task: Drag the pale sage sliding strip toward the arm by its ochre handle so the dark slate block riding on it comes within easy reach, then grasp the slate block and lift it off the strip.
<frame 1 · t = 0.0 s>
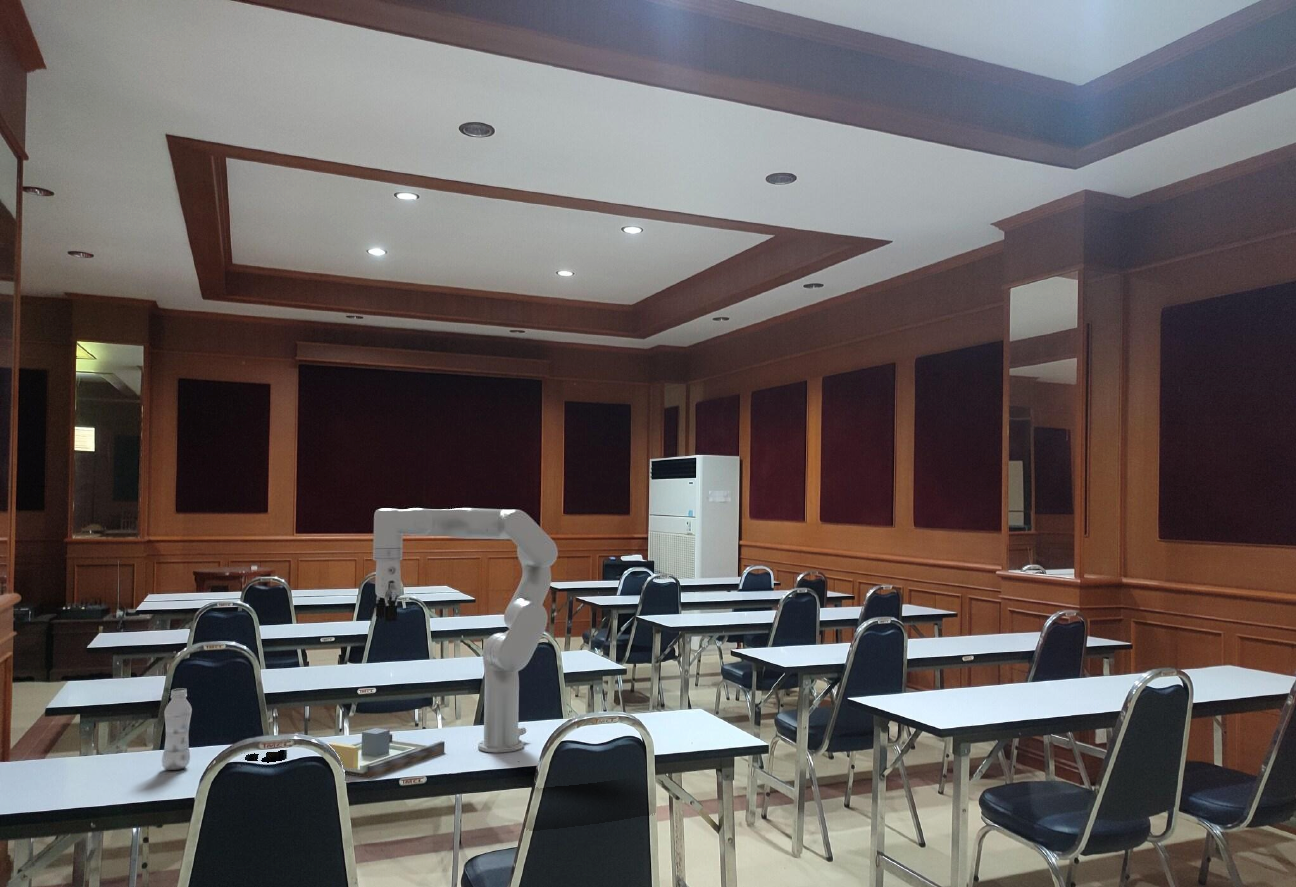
hand: (386, 619, 243), 37 cm above the table, tool pointing down, fingers open, 9 cm apart
slate block: (375, 753, 241), point 2 cm above the table, touching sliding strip
end cap: (265, 771, 233), on the table
guide base: (380, 759, 243), on the table
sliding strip: (367, 748, 239), point 4 cm above the table, slide at 0.0 cm, touching slate block
plastic bottle: (175, 769, 233), on the table
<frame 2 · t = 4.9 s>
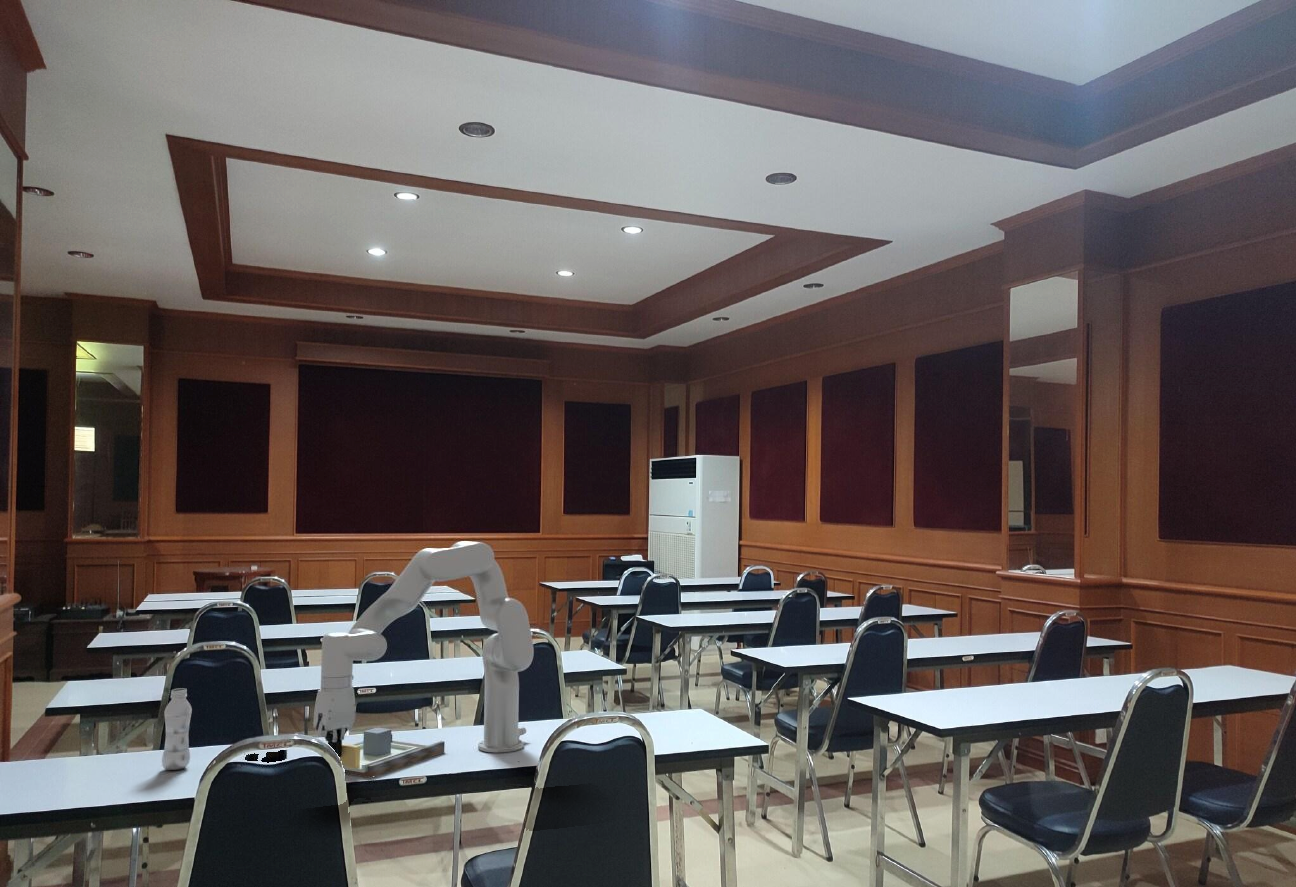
hand: (334, 756, 228), 4 cm above the table, tool pointing down, fingers closed
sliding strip: (369, 747, 239), point 4 cm above the table, slide at 0.6 cm, touching gripper, slate block
everything else where it was.
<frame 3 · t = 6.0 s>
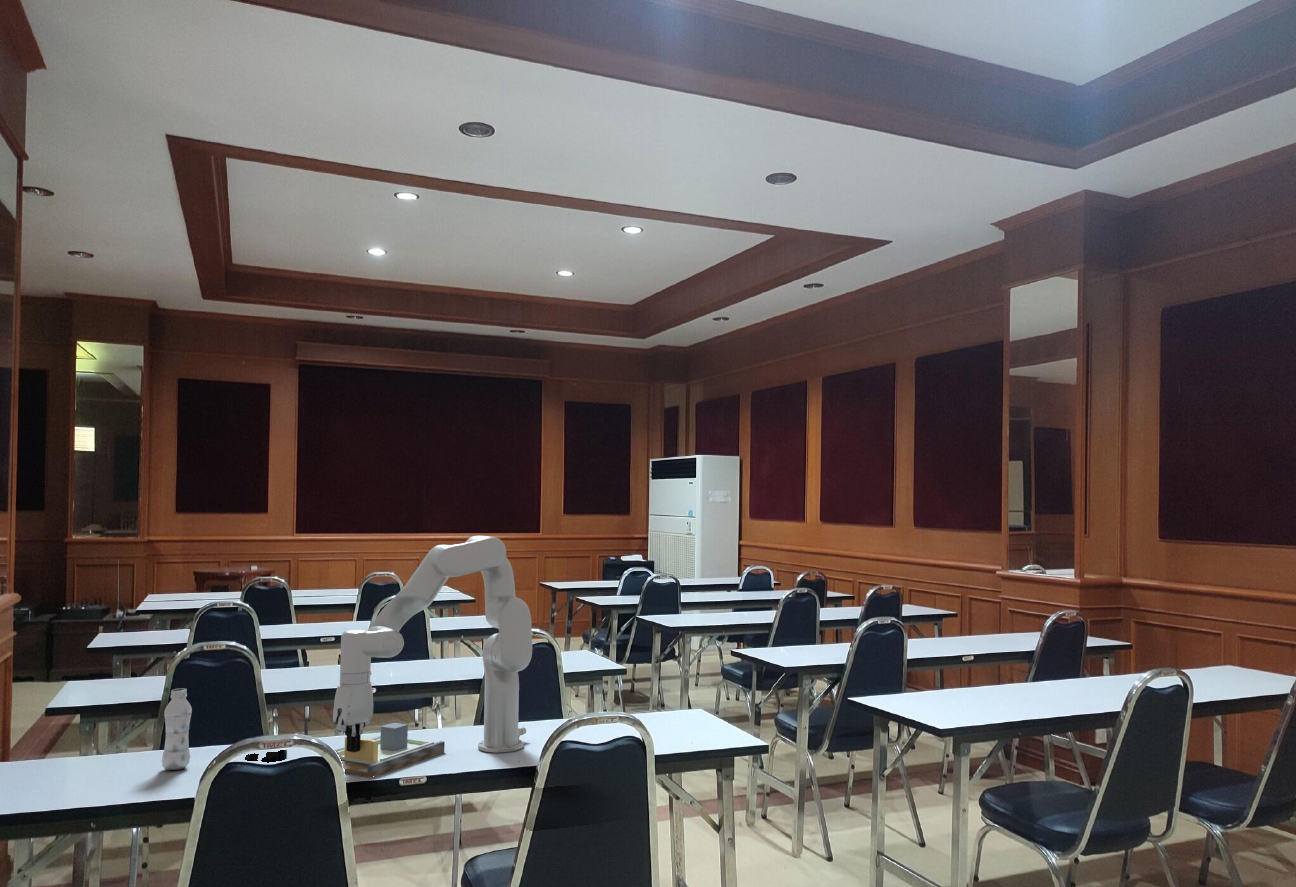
hand: (353, 750, 234), 5 cm above the table, tool pointing down, fingers closed
slate block: (393, 748, 247), point 2 cm above the table, touching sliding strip
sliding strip: (386, 742, 245), point 4 cm above the table, slide at 7.0 cm, touching gripper, slate block
everything else where it was.
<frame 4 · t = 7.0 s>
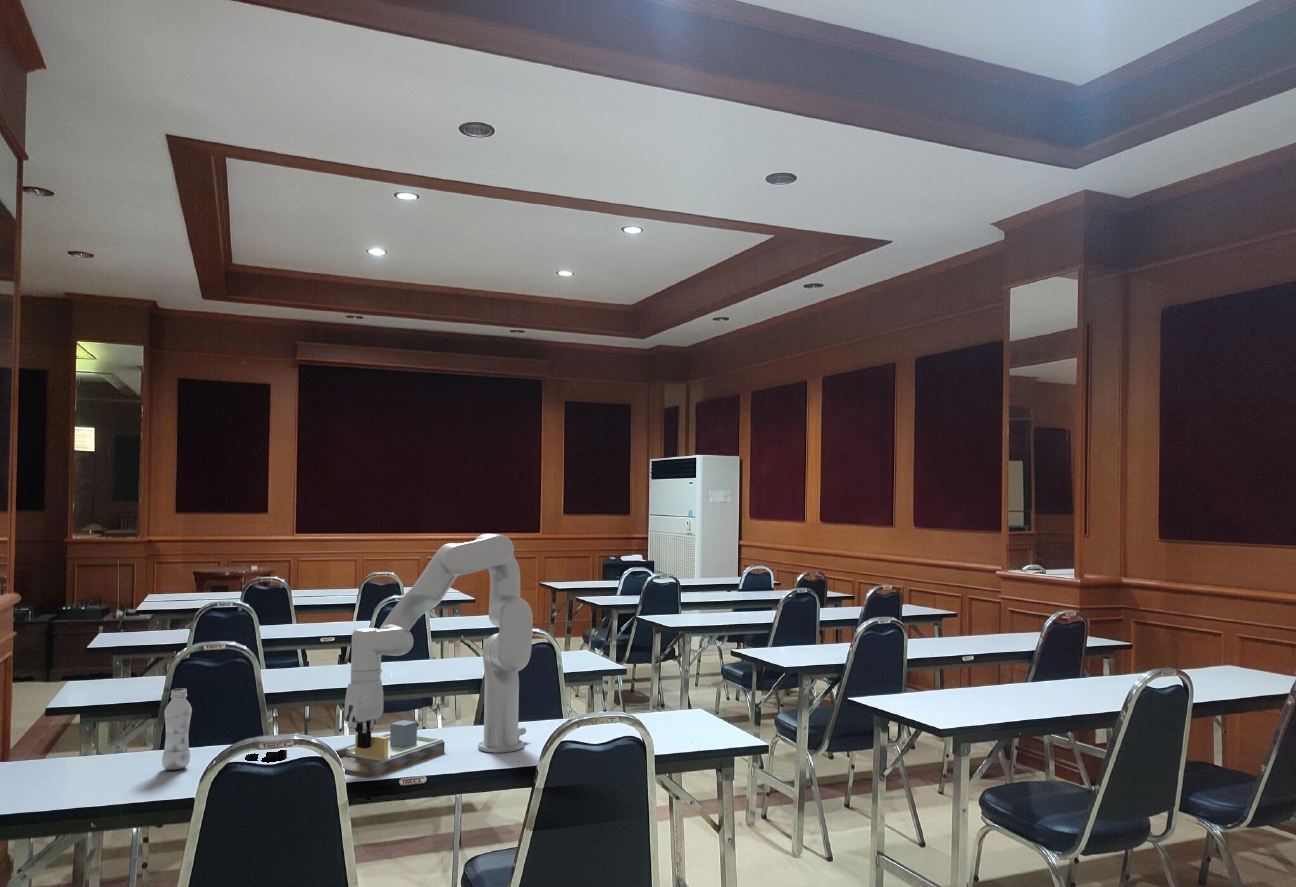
hand: (363, 747, 237), 5 cm above the table, tool pointing down, fingers closed
slate block: (403, 744, 251), point 2 cm above the table, touching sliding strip
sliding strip: (396, 739, 248), point 4 cm above the table, slide at 10.8 cm, touching gripper, slate block
everything else where it was.
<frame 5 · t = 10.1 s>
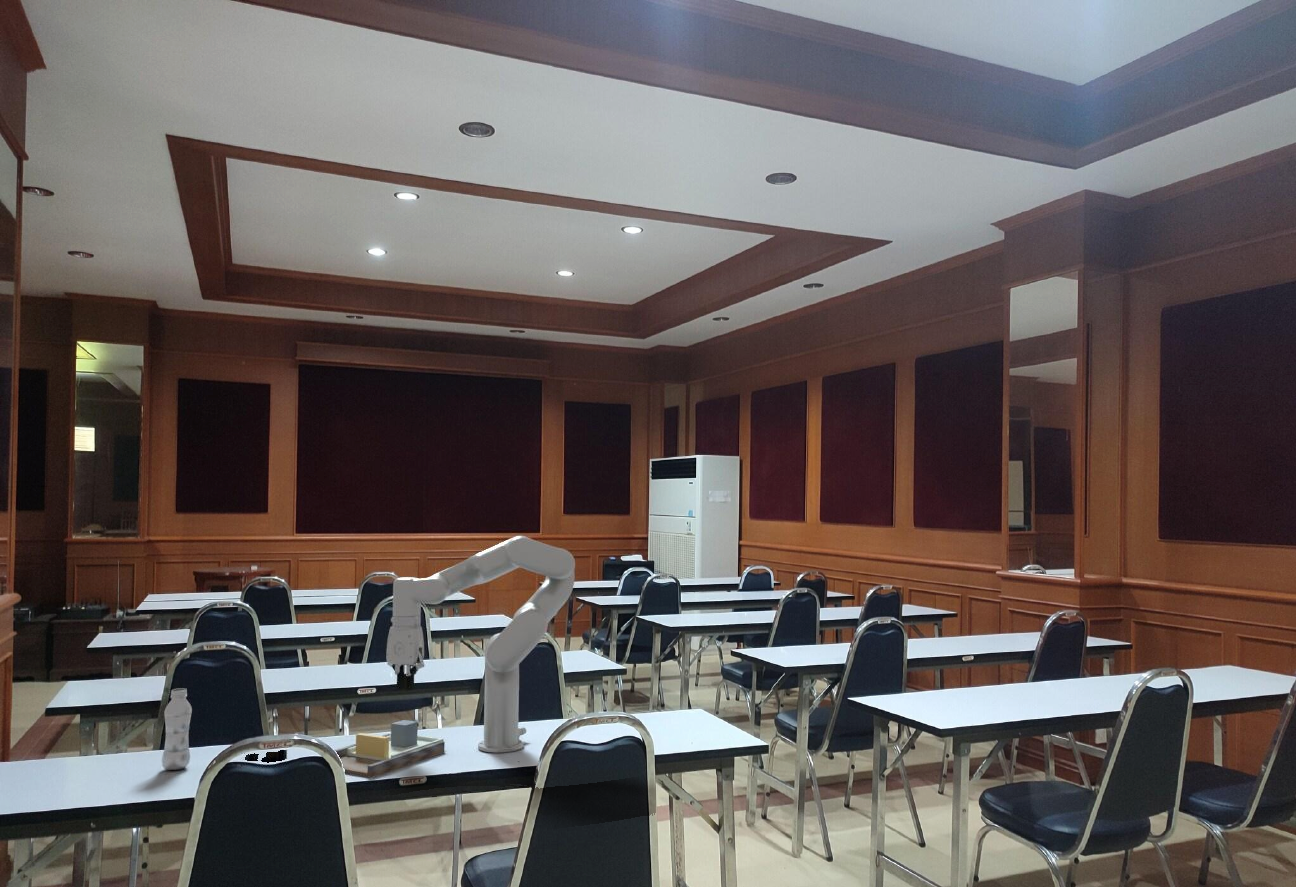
hand: (405, 688, 252), 17 cm above the table, tool pointing down, fingers closed
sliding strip: (396, 739, 248), point 4 cm above the table, slide at 11.0 cm, touching slate block
everything else where it was.
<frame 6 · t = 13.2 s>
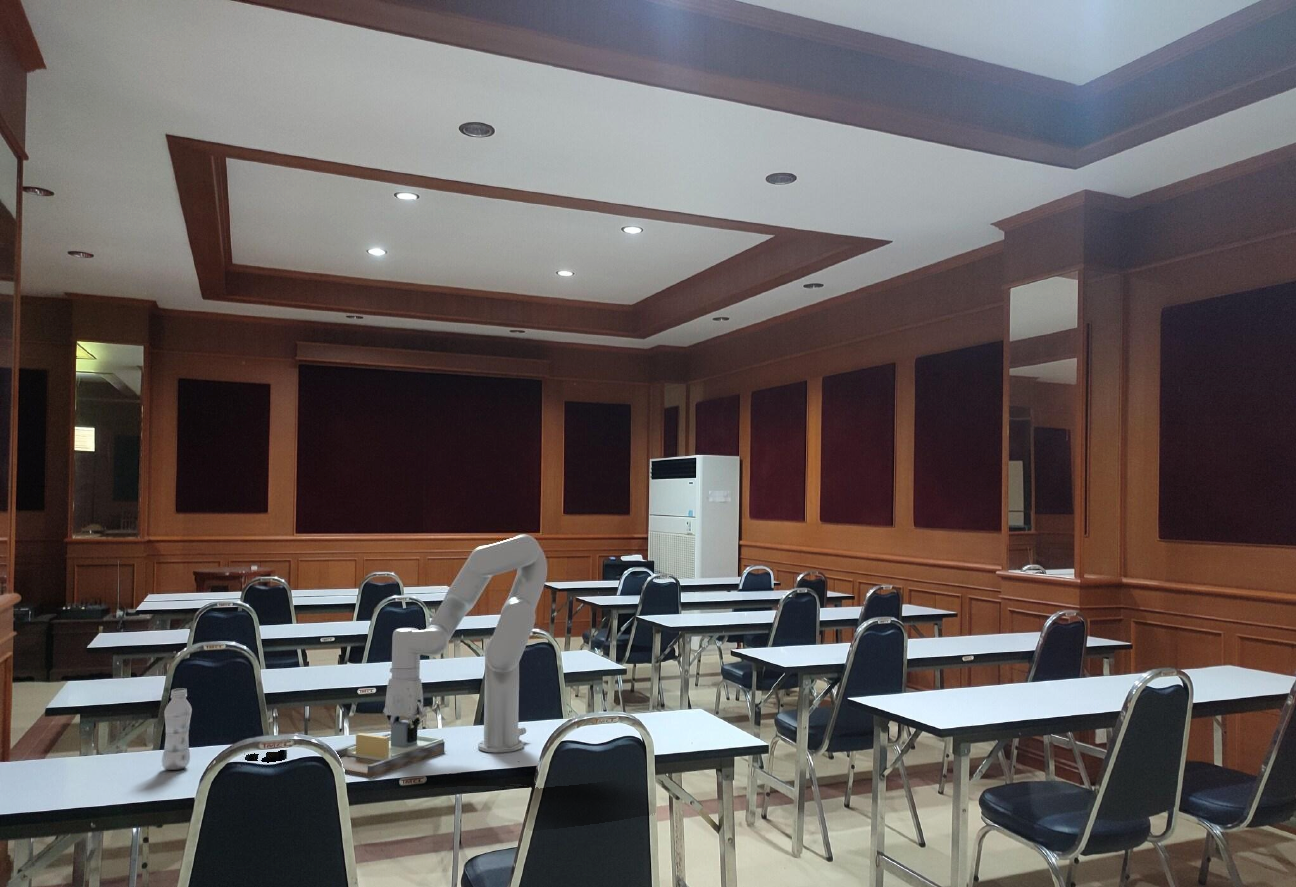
hand: (404, 739, 251), 3 cm above the table, tool pointing down, fingers closed on slate block, 5 cm apart
slate block: (403, 744, 251), point 2 cm above the table, touching gripper, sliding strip
everything else where it was.
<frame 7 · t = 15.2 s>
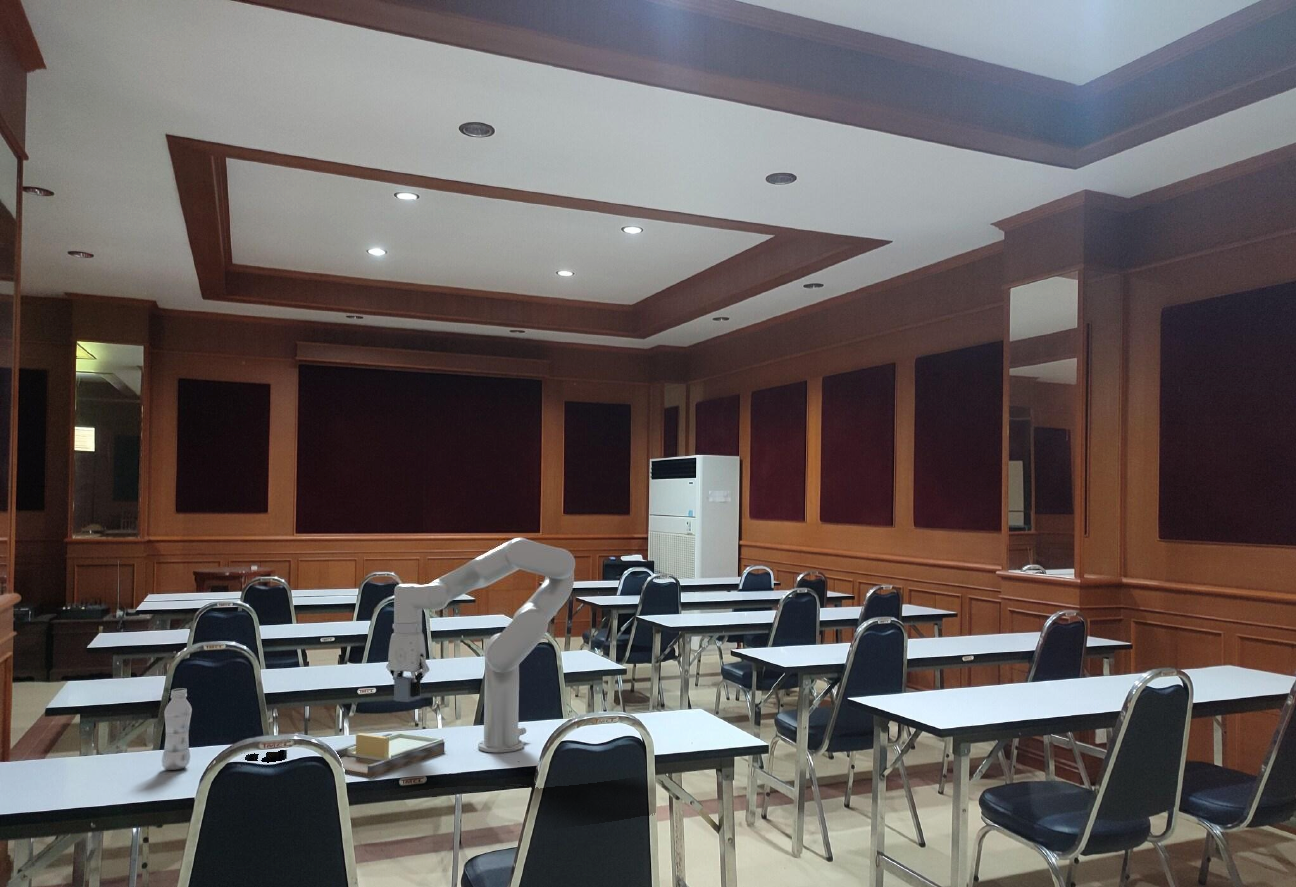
hand: (407, 694, 252), 16 cm above the table, tool pointing down, fingers closed on slate block, 5 cm apart
slate block: (407, 699, 251), point 14 cm above the table, touching gripper
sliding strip: (396, 739, 248), point 4 cm above the table, slide at 11.0 cm
everything else where it was.
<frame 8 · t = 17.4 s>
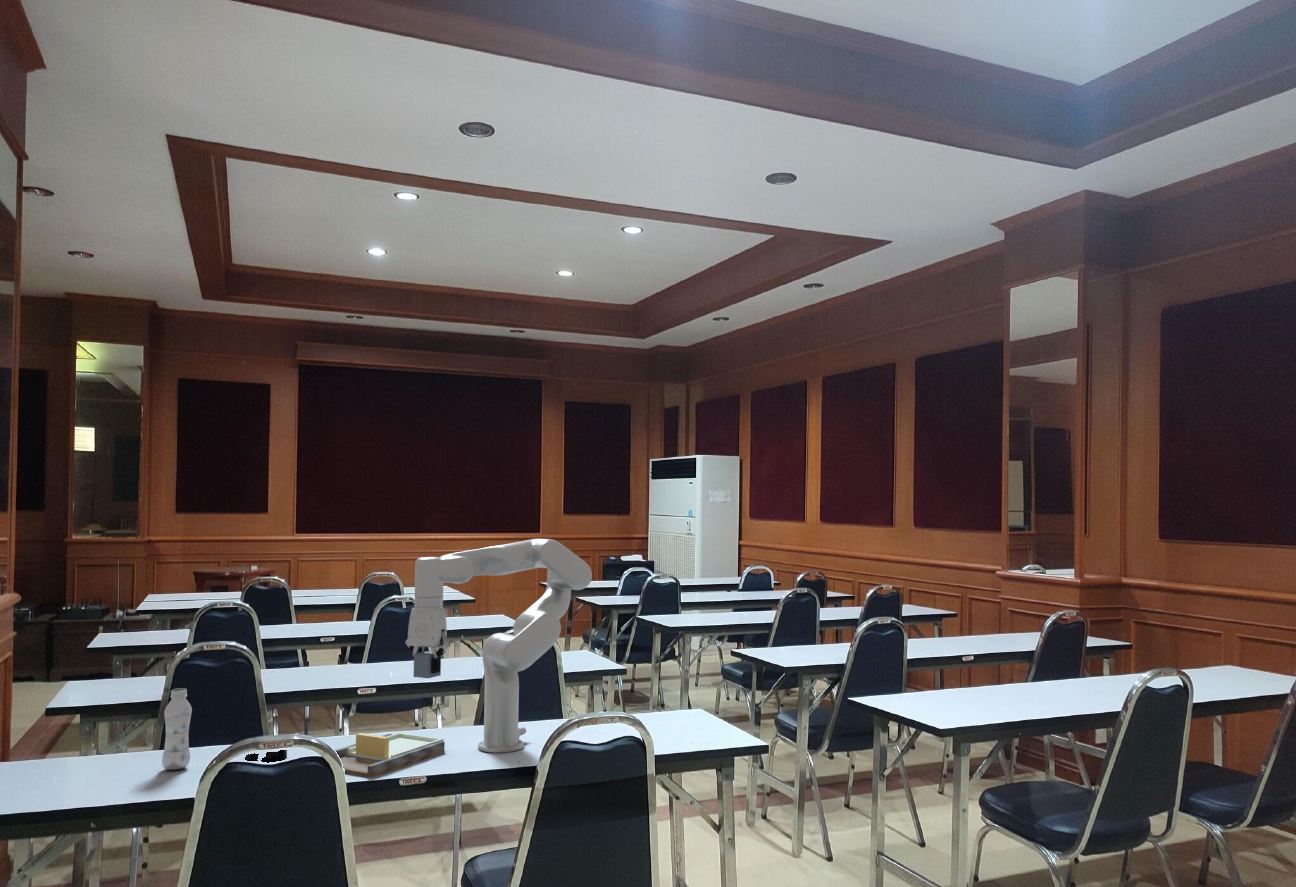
hand: (427, 670, 244), 23 cm above the table, tool pointing down, fingers closed on slate block, 5 cm apart
slate block: (427, 676, 244), point 22 cm above the table, touching gripper
everything else where it was.
at the end: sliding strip slide at 11.0 cm; the gripper is holding slate block; slate block point 22.0 cm above the table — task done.
